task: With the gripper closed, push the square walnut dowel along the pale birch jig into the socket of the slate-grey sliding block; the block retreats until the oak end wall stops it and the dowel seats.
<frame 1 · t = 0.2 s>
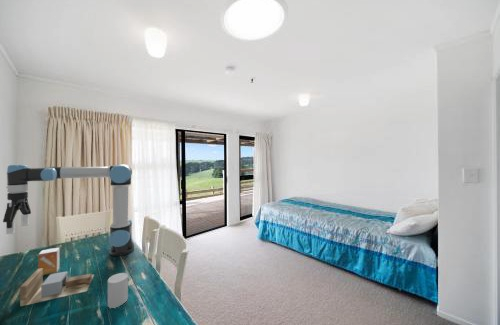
hand: (18, 229, 113), 28 cm above the table, fingers open, 13 cm apart
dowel: (79, 284, 107), point 1 cm above the table, touching jig
small box: (49, 272, 120), on the table
carriage: (55, 283, 102), point 5 cm above the table, slide at 0.0 cm
jig: (61, 290, 103), on the table
light gray cylinder: (117, 302, 96), on the table
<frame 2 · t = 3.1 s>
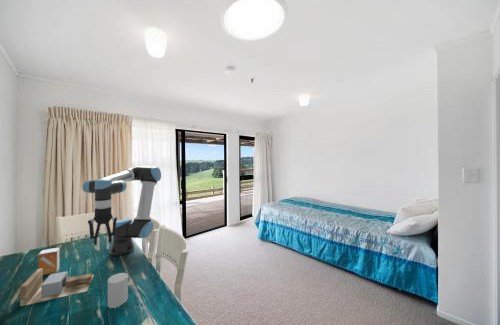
hand: (103, 248, 111), 19 cm above the table, fingers open, 4 cm apart
nothing on the table moved.
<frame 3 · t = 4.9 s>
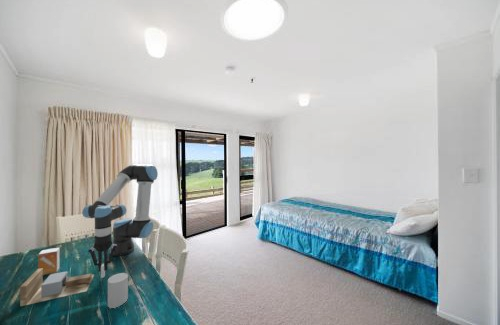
hand: (103, 276, 111), 3 cm above the table, fingers closed
nothing on the table moved.
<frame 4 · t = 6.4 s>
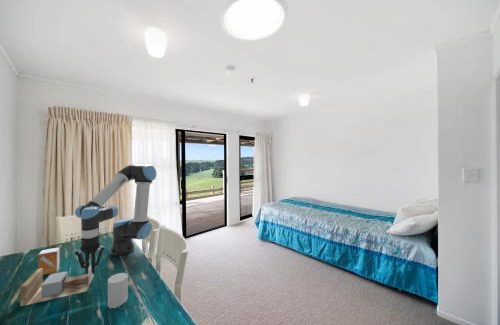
hand: (90, 278, 109), 3 cm above the table, fingers closed
nothing on the table moved.
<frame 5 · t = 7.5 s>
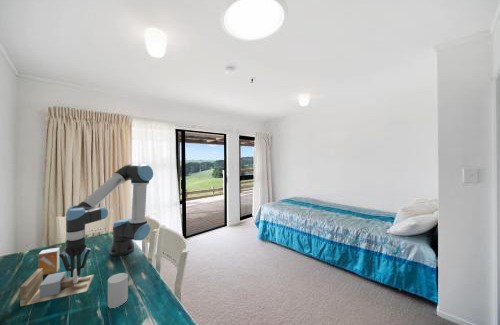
hand: (75, 281, 106), 3 cm above the table, fingers closed
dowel: (61, 288, 103), point 1 cm above the table, touching carriage, gripper
carriage: (53, 283, 102), point 5 cm above the table, slide at 0.7 cm, touching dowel
everything else where it was.
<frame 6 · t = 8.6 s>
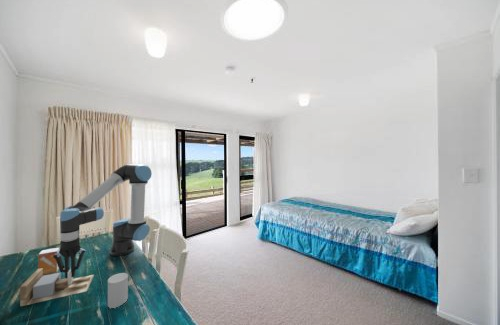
hand: (70, 283, 105), 3 cm above the table, fingers closed
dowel: (55, 289, 102), point 1 cm above the table, touching gripper, jig
carriage: (47, 285, 101), point 5 cm above the table, slide at 2.9 cm
everything else where it was.
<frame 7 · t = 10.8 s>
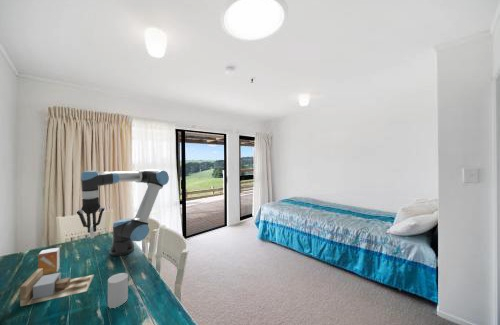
hand: (92, 237, 116), 23 cm above the table, fingers closed
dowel: (55, 289, 102), point 1 cm above the table, touching jig
everything else where it was.
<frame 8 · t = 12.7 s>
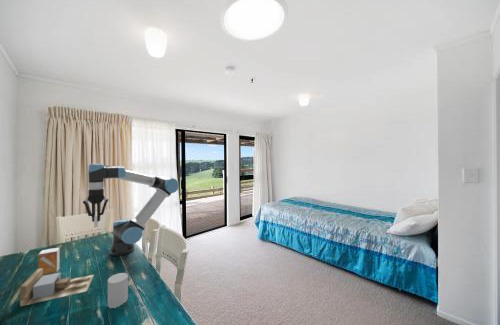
hand: (96, 226, 124), 26 cm above the table, fingers closed
nothing on the table moved.
at the end: carriage slide at 2.9 cm; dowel 0.1 cm from the target spot on the carriage, point 1.2 cm above the carriage's base; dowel touching jig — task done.
